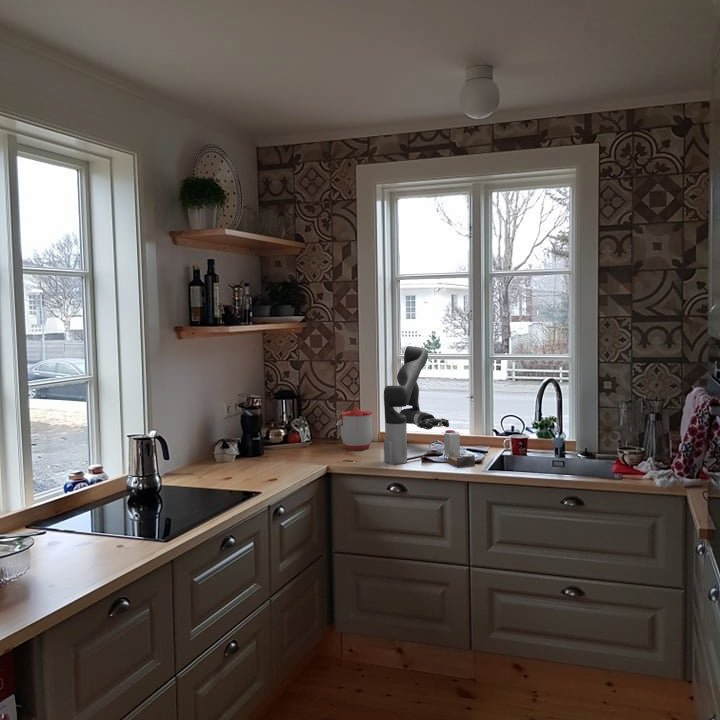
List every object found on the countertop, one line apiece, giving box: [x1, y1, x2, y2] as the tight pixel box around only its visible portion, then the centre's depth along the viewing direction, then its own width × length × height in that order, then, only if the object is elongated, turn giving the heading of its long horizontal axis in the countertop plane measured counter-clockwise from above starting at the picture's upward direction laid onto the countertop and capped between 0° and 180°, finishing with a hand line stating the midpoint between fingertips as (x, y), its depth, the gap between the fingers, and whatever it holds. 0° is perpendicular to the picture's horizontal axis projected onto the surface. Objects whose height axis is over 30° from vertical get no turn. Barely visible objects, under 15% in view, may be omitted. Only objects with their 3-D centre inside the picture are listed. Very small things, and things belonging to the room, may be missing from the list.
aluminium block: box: [443, 432, 461, 457], centre depth 316 cm, size 5×5×11 cm
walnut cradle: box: [447, 455, 476, 468], centre depth 304 cm, size 8×9×4 cm
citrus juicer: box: [335, 406, 373, 451], centre depth 342 cm, size 16×17×20 cm
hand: (439, 425), depth 327 cm, fingers open, 8 cm apart
